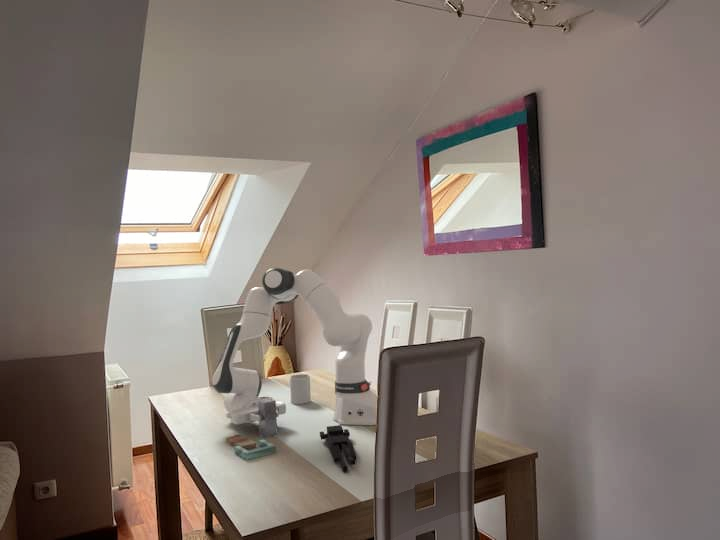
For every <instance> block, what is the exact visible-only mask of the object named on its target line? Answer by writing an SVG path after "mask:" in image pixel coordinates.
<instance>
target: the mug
mask: <svg viewBox="0 0 720 540" xmlns="http://www.w3.org/2000/svg"><path fill="white" fill-rule="evenodd" d="M289 381H290V382H289V385H290V388H289V389H290V403H291V404H292V403H293V405H304V404H303V403H306V404H309V403H311V401H312V399H311V398H312V396H311V377H310V375H309V374H303V373H301V374H293V375H291V376H290V377H289ZM308 402H309V403H308Z"/></svg>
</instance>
